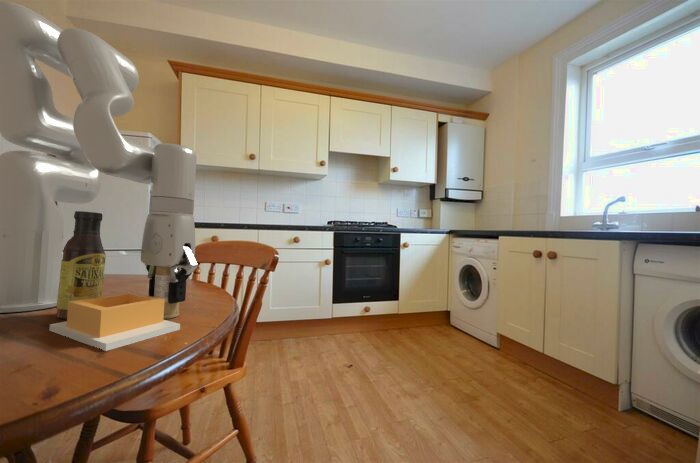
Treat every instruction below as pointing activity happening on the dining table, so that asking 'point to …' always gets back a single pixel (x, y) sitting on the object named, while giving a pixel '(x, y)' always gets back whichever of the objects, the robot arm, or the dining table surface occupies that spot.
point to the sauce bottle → (82, 263)
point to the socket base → (115, 320)
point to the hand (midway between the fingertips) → (166, 299)
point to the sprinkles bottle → (165, 291)
